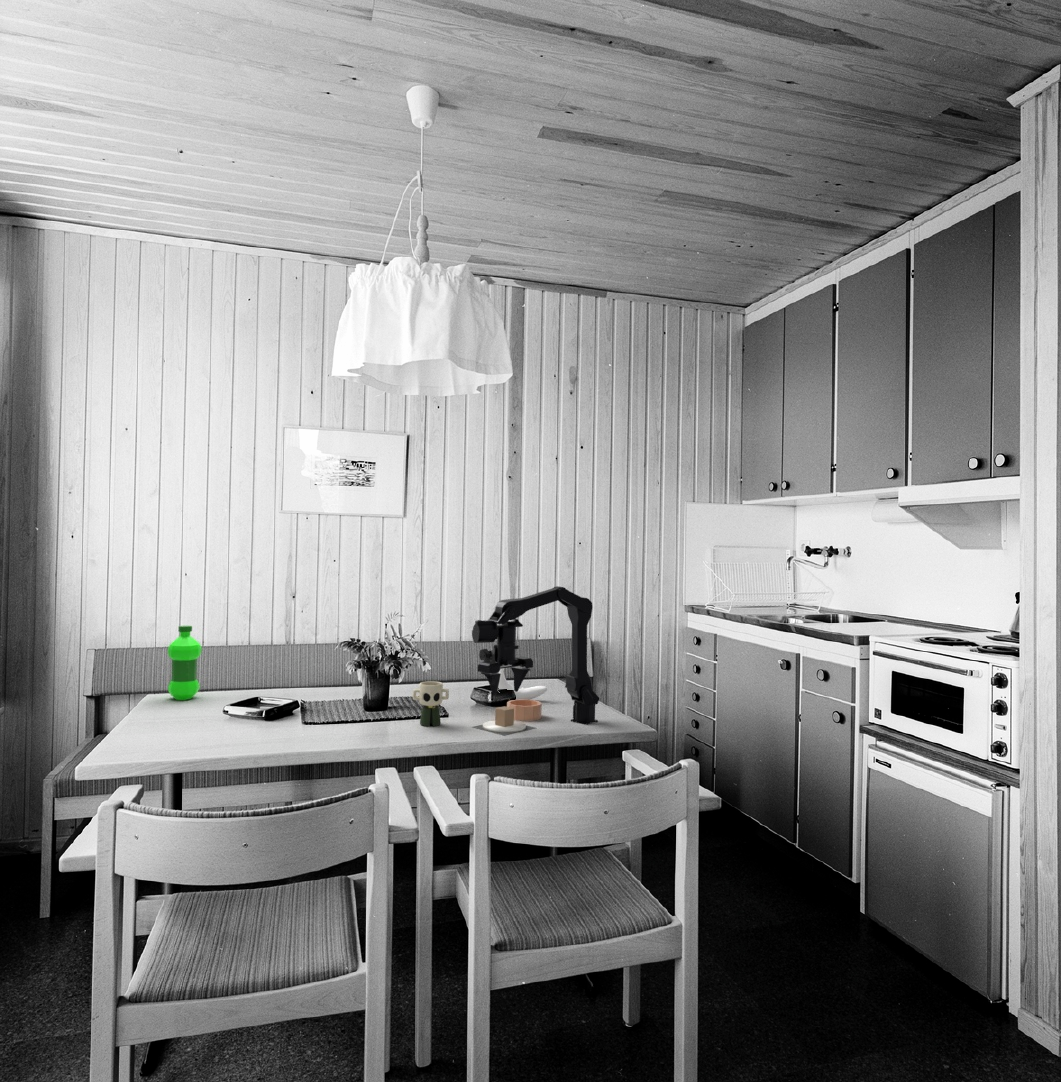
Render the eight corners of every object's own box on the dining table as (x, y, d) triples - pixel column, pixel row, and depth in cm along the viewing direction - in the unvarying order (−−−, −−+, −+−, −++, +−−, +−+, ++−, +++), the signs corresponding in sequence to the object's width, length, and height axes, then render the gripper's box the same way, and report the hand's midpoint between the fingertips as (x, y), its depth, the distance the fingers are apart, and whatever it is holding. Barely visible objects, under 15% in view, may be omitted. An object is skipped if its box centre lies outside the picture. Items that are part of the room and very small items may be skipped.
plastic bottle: (166, 696, 271) (168, 625, 271) (199, 694, 275) (201, 624, 275) (166, 702, 261) (168, 628, 262) (200, 700, 266) (202, 627, 266)
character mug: (413, 729, 232) (414, 685, 232) (411, 723, 239) (412, 681, 239) (449, 728, 234) (450, 685, 234) (446, 722, 241) (447, 680, 241)
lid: (534, 728, 235) (535, 708, 235) (504, 734, 225) (504, 715, 225) (504, 720, 244) (504, 702, 244) (473, 727, 234) (474, 707, 234)
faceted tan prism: (547, 718, 250) (548, 703, 250) (524, 723, 242) (525, 707, 242) (523, 713, 257) (523, 698, 257) (500, 718, 249) (500, 702, 249)
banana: (547, 702, 276) (548, 661, 276) (493, 702, 274) (494, 660, 274) (545, 699, 281) (546, 659, 281) (493, 699, 279) (494, 658, 279)
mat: (536, 729, 235) (536, 727, 235) (504, 737, 225) (504, 735, 225) (504, 721, 244) (504, 720, 244) (471, 728, 234) (471, 727, 234)
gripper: (509, 636, 247) (508, 685, 247) (465, 641, 233) (464, 693, 233) (534, 640, 239) (533, 691, 239) (491, 645, 226) (490, 699, 226)
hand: (505, 693), depth 235 cm, fingers open, 9 cm apart
